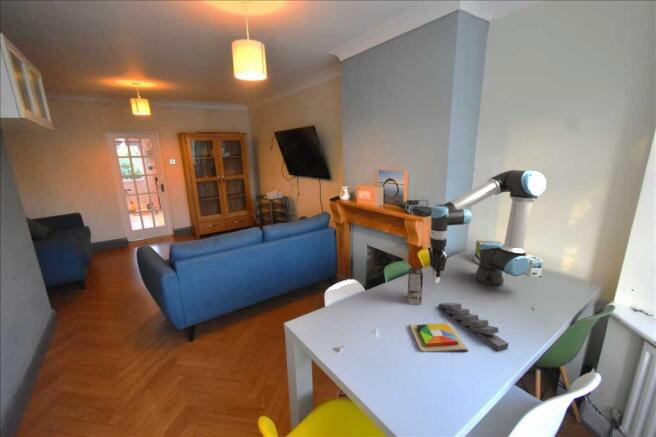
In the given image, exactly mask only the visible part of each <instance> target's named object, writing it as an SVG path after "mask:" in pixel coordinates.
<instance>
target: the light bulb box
mask: <svg viewBox="0 0 656 437" xmlns="http://www.w3.org/2000/svg"><path fill="white" fill-rule="evenodd" d="M525 257H527V258H528V260H529V262H530V265H529V268H528V270H527V271H526V272H525V273H524V274H525V275H526V274H527V275H526V276H528V277H530V278H540V277H539V276H541V277H542V271H543V264H544V259H541V258H539V257H537V256H535V255H533V254H526V255H525Z"/></svg>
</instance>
